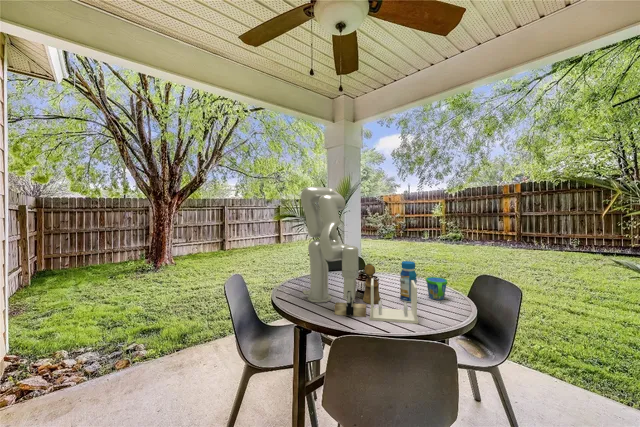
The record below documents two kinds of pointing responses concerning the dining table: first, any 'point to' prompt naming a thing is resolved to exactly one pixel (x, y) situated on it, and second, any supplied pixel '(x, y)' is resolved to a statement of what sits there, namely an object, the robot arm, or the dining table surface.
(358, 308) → the tan wooden block
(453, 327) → the dining table surface
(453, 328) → the dining table surface
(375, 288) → the wooden mug
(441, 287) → the snack cup
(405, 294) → the beverage bottle
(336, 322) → the dining table surface
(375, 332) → the dining table surface
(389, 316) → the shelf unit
